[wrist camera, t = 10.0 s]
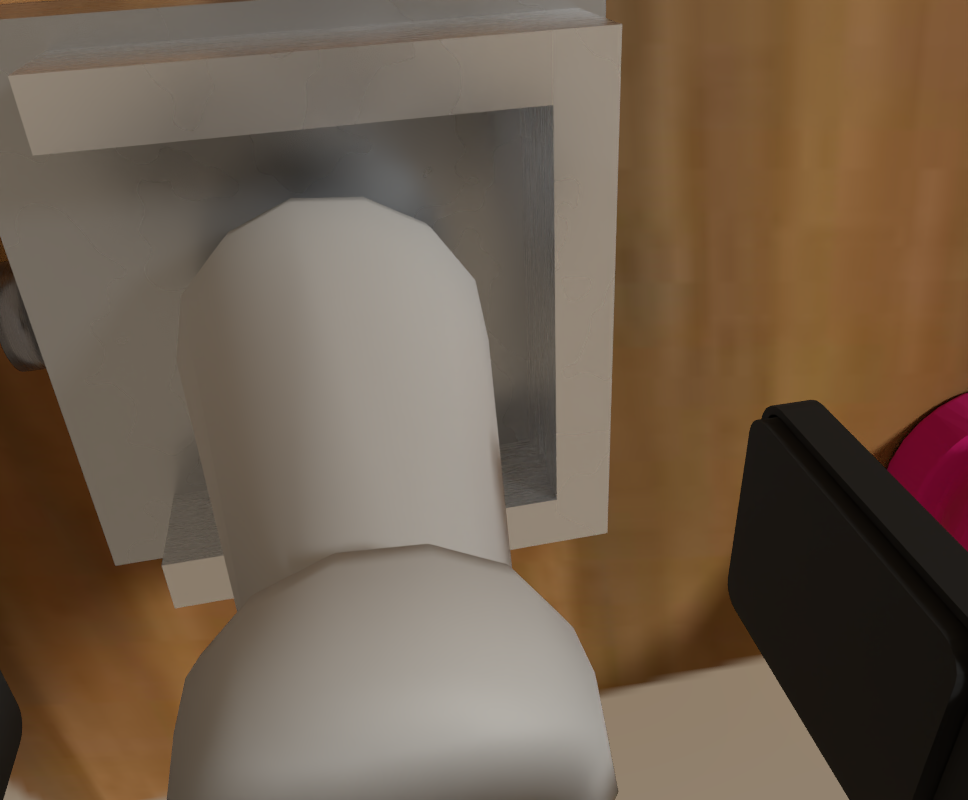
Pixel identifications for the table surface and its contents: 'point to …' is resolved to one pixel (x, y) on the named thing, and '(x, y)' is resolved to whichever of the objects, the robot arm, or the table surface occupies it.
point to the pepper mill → (938, 466)
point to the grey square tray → (305, 174)
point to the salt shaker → (365, 533)
